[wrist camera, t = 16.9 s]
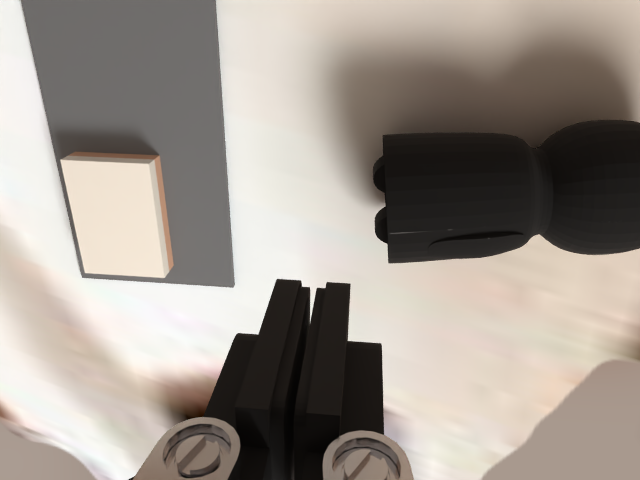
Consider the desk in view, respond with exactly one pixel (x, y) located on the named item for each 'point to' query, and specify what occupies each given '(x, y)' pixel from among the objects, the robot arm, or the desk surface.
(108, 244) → the block
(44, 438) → the desk surface
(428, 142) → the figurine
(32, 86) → the desk surface
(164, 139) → the mat
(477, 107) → the desk surface
